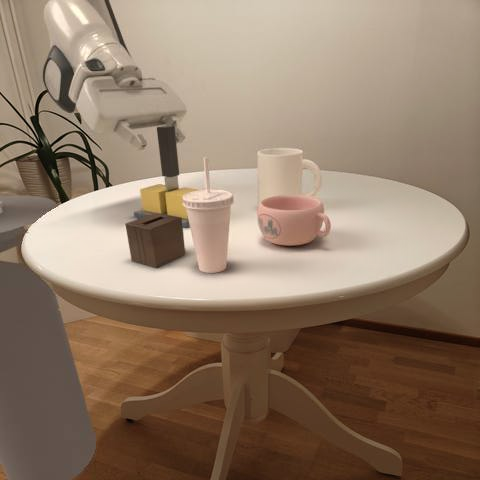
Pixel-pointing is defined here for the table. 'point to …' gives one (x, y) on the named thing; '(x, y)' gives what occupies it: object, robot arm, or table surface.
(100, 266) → the table surface
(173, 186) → the knife
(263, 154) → the mug
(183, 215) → the butter
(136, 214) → the butter dish
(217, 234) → the smoothie
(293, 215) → the mug
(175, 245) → the knife block
